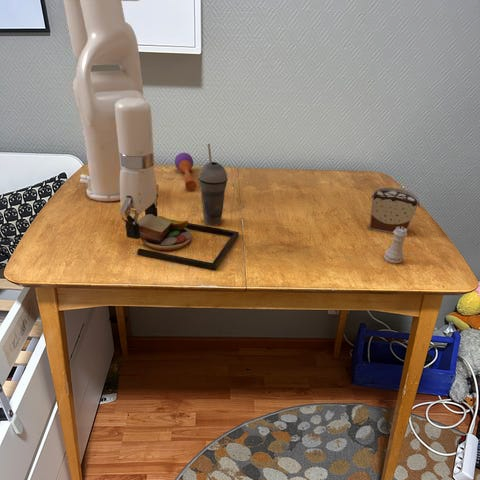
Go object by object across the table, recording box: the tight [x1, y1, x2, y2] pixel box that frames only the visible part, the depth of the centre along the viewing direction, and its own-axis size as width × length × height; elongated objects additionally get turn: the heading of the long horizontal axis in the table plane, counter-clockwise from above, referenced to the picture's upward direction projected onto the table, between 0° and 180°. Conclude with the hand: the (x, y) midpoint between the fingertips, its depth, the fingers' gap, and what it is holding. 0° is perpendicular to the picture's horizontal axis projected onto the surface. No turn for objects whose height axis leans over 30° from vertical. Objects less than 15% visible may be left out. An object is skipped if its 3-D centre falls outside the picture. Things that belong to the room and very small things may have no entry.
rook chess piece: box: [383, 227, 408, 264], centre depth 110 cm, size 4×4×8 cm
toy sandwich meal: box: [137, 214, 193, 251], centre depth 113 cm, size 12×14×5 cm
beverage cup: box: [198, 143, 228, 226], centre depth 118 cm, size 7×7×20 cm
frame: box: [136, 219, 240, 271], centre depth 113 cm, size 19×18×1 cm
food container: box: [368, 187, 421, 234], centre depth 123 cm, size 12×6×10 cm, turn 71°
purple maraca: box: [174, 152, 197, 192], centre depth 146 cm, size 6×6×20 cm
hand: (142, 229), depth 115 cm, fingers open, 9 cm apart
